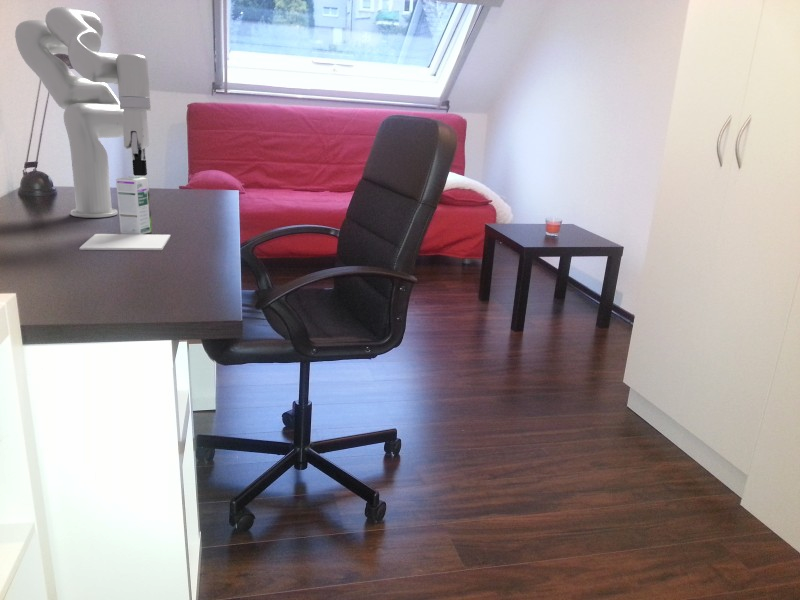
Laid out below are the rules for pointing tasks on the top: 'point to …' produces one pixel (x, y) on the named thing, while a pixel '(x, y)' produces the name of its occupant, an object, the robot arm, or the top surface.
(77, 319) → the top surface
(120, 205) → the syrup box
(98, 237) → the mat
